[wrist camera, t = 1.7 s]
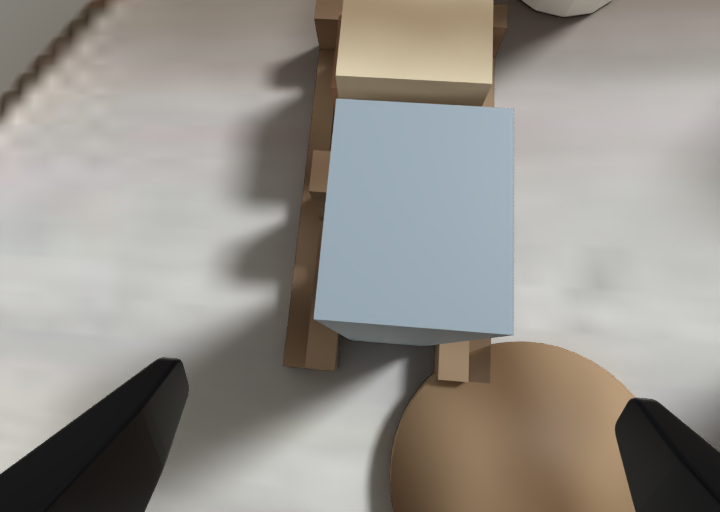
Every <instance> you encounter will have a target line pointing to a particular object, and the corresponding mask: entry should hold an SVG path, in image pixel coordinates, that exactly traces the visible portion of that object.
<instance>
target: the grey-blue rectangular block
mask: <svg viewBox="0 0 720 512" xmlns="http://www.w3.org/2000/svg"><path fill="white" fill-rule="evenodd" d="M314 320H316V321H318V322H319V323H321V324H323V325H325V326H326V327H328V328H330V329H332V330H333V331H335V332H337V333H339V334H340V335H342V336H344V337H346V338H348V339H349V340H352V341H364V342H377V343H389V344H401V345H414V346H429V345H437V344H445V343H453V342H461V341H469V340H478V339H486V338H494V337H502V336H510V335H514V108H497V107H479V106H461V105H443V104H425V103H407V102H389V101H371V100H353V99H336V106H335V115H334V125H333V135H332V145H331V154H330V164H329V174H328V184H327V193H326V203H325V213H324V222H323V232H322V242H321V252H320V261H319V271H318V281H317V290H316V300H315V310H314Z"/></svg>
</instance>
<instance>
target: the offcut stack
mask: <svg viewBox="0 0 720 512" xmlns="http://www.w3.org/2000/svg"><path fill="white" fill-rule="evenodd" d="M492 62H493V0H343V10H342V13H341V12H339V18H338V28H337V37H336V47H335V56H334V65H333V75H332V84H331V90H332V97H333V103H334V109H335V106H336V99H353V100H371V101H389V102H407V103H425V104H443V105H461V106H479V107H482V106H483V103H484V101H485V99H486V97H487V94H488V92H489V90H490V88H491V85H492Z"/></svg>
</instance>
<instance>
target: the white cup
mask: <svg viewBox="0 0 720 512" xmlns="http://www.w3.org/2000/svg"><path fill="white" fill-rule="evenodd" d="M521 1H523V2H524V3H526V4H527V5H529V6H530V7H531V8H533V9H534V10H536V11H540V12H544V13H548V14H553V15H557V16H561V17H568V16H575V15H582V14H589V13H593V12H595V11H596V10H598V9H599V8H601V7H602V6H604V5H606V4H607V3H609V2H610V1H612V0H521Z"/></svg>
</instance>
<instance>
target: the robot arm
mask: <svg viewBox="0 0 720 512" xmlns="http://www.w3.org/2000/svg"><path fill="white" fill-rule="evenodd" d="M188 391H189V386H188V381H187V378H186V374H185V370H184V366H183V363H182V361H181V360H180V359H177V358H165V357H162V358H159V359H157V360H155V361H154V362H153V363H151V364H150V365H149V366H147V367H146V368H144V369H143V370H142V371H140V372H139V373H138V374H136V375H135V376H134V377H132V378H131V379H129V380H128V381H127V382H125V383H124V384H123V385H121V386H120V387H119V388H117V389H116V390H114V391H113V392H112V393H110V394H109V395H108V396H106V397H105V398H104V399H102V400H101V401H99V402H98V403H97V404H95V405H94V406H93V407H91V408H90V409H89V410H87V411H86V412H84V413H83V414H82V415H80V416H79V417H78V418H76V419H75V420H74V421H72V422H71V423H69V424H68V425H67V426H65V427H64V428H63V429H61V430H60V431H58V432H57V433H56V434H54V435H53V436H52V437H50V438H49V439H48V440H46V441H45V442H43V443H42V444H41V445H39V446H38V447H37V448H35V449H34V450H33V451H31V452H30V453H28V454H27V455H26V456H24V457H23V458H22V459H20V460H19V461H18V462H16V463H15V464H13V465H12V466H11V467H9V468H8V469H7V470H5V471H4V472H3V473H1V474H0V512H145V509H146V507H147V505H148V503H149V501H150V498H151V496H152V494H153V492H154V489H155V487H156V485H157V483H158V480H159V478H160V476H161V473H162V471H163V469H164V466H165V463H166V460H167V457H168V454H169V451H170V448H171V445H172V442H173V439H174V436H175V433H176V430H177V427H178V424H179V421H180V418H181V415H182V412H183V409H184V406H185V403H186V400H187V396H188ZM615 436H616V440H617V444H618V447H619V451H620V455H621V459H622V463H623V467H624V471H625V474H626V478H627V482H628V486H629V490H630V494H631V497H632V501H633V505H634V508H635V512H720V452H718V451H717V450H716V449H715V448H713V447H712V446H711V445H710V444H709V443H707V442H706V441H705V440H704V439H703V438H701V437H700V436H699V435H698V434H697V433H695V432H694V431H693V430H692V429H691V428H689V427H688V426H687V425H686V424H684V423H683V422H682V421H681V420H680V419H678V418H677V417H676V416H675V415H674V414H672V413H671V412H670V411H669V410H668V409H666V408H665V407H664V406H663V405H661V404H660V403H659V402H657V401H656V400H653V399H647V398H632V399H630V400H629V401H628V402H627V404H626V406H625V407H624V409H623V411H622V413H621V414H620V416H619V418H618V420H617V421H616V424H615Z"/></svg>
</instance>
